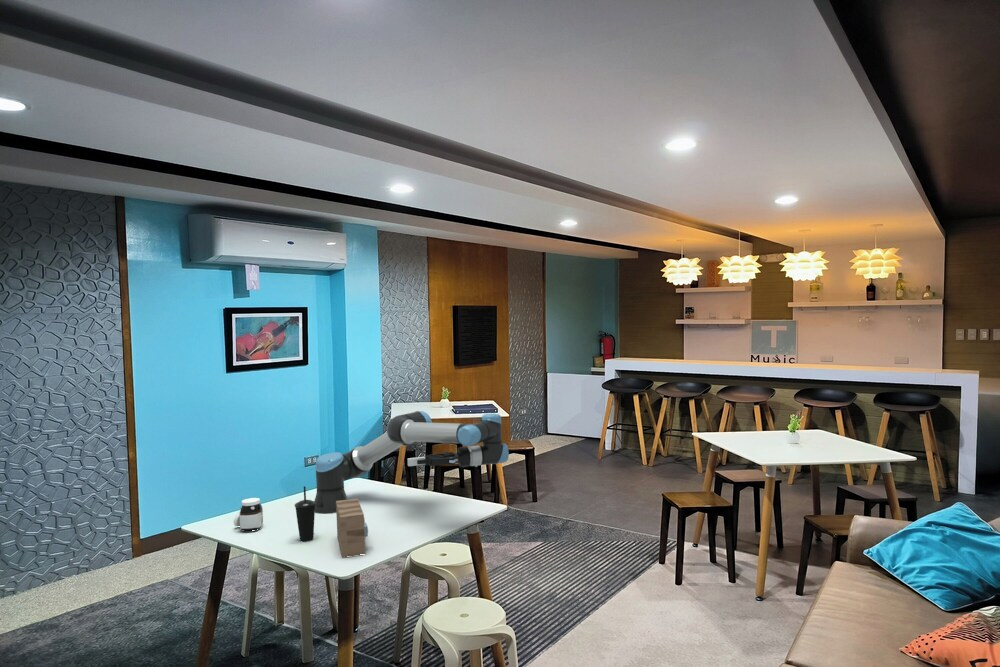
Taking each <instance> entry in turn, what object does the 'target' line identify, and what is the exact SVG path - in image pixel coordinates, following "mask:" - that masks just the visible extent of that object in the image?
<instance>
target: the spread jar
mask: <svg viewBox="0 0 1000 667" xmlns="http://www.w3.org/2000/svg"><path fill="white" fill-rule="evenodd" d="M263 512H264V511H263V506H262V504H261V499H260V498H259V497H250V498H245V499H243V500H241V507H240V511H239V512H237V514H236V516H235V517H234V519H233V526H235V527H236V526H240V527H239V528H240V530H241V531H242V530H244V531H252V530H257V529H260V528H261V527H262V528H263V526H264V513H263ZM262 528H261V529H262ZM261 529H260V530H261ZM244 531H243V532H244ZM257 531H258V530H257Z"/></svg>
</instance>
